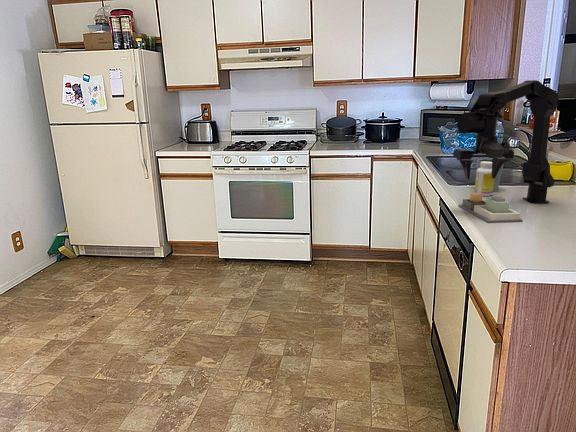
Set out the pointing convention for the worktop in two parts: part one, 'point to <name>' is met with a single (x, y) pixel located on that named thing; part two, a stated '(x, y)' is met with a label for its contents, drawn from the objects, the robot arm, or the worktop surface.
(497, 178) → the drinking glass
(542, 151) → the robot arm
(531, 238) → the worktop surface
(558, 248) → the worktop surface
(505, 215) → the chassis
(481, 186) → the supplement bottle
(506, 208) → the pale green block
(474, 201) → the click button
